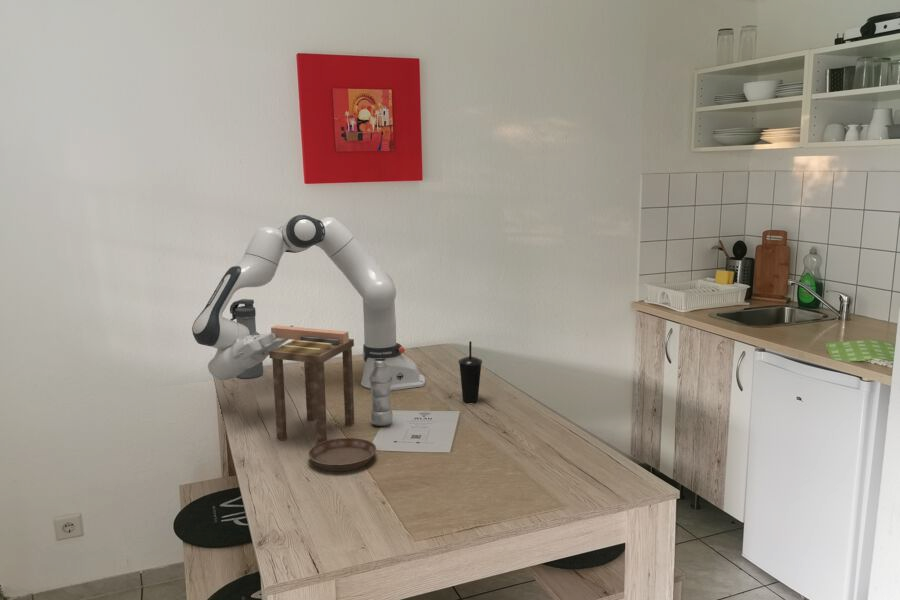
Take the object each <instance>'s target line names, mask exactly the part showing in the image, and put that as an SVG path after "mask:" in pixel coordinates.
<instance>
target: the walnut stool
mask: <svg viewBox="0 0 900 600" xmlns="http://www.w3.org/2000/svg"><path fill="white" fill-rule="evenodd" d="M348 336H349V334H348ZM349 337H350V336H349ZM300 339H301V340H290V341H289V342H286V343H283V344H282V345H280V346H279V347H278V348H275V349H273V350H271V351H269V355H268V357H269V359H271V360H272V361H271V362H272V378H273V379H272V380H273V393H274V395H273V396H274V409H275V426H276V427H275V428H276V440H277V439H278V440H277V441H282V440H283V441H285V440H286V439H288V432H287V431H288V430H287V429H288V427H287V416H286V415H287V412H286V396H285V379H284V378H285V377H284V361H293V362H302V363H303V364H304V382H305V383H304V385H305V386H304V388H305V402H306V403H305V406H306V409H305V410H306V421H311V422H313V421H315V423H316V425H315V426H316V445H317V444H319V443H321V442H324V441H328V430H327V429H328V428H327V427H328V426H327V424H328V423H327V404H326V384H325V383H326V379H325V362H326V361H328V360H331V359H332V358H334V357H336V356H338V355H340V354H341V353H342V354H341V355H342V369H343V370H342V376H343V380H342V381H343V402H344V405H343V406H344V426H348V427H353V424H354V425H355V406H354V403H355V402H354V401H355V400H354V377H353V376H354V374H353V351H352V349H353V347H354V346H355V341H354V338H349V342H347V343H345V344H339V340H337V339H327V338H316V337H305V336H302V337H300ZM284 439H285V440H284Z"/></svg>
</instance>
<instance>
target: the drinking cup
mask: <svg viewBox="0 0 900 600" xmlns="http://www.w3.org/2000/svg"><path fill="white" fill-rule="evenodd" d="M468 346H469V349H468V351H469V356H465V357H462V358H459V359H458V364H459V372H460V373H459V375H460V383H461V394H462V402H463V403H464V402H465V404H468V403H473V404H477V403H478V402H477V401H479V392H480V391H479V390H480V380H481V370H482V363H483V360H482V359H481V358H478V357H475V356H472V341H469V345H468ZM476 402H477V403H476Z"/></svg>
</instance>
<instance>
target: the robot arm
mask: <svg viewBox="0 0 900 600" xmlns="http://www.w3.org/2000/svg"><path fill="white" fill-rule="evenodd" d="M313 246H315V247H318V248H319V249H321V250H323V252H324V253H325V254H326V256H327V257H328V258H329V259H330V260H331V261H332V262H333V264H334V265H335V266H336V267H337V268H338V269H339V270H340V272H341V273H342V274H343V275H344V276H345V277H346V279H347V280H348V281H349V283H350V284H351V285H352V287H353V288H354V289H355V290H356V292H357V293H358V294H359V295H360V297H361V298H362V309H363V310H362V311H363V336H364V339H363V341H364V344H363V345H362V346H363V347H362V355H363V362H364V363H363V373H362V377H361V378H362V379H361V382H360V385H361V386H363V387H364V388H366V389H371V387H370V381H369V375H370V373H371V371H372V370H373V369H374V366H373V364H374V359H377V358H384V359H386V364H387V366H386V368H387V370H388V371H389V372H390V374H391V386H390V392H391V391H399V390H405V389H413V388H420V387H421V388H422V387H423V386H425V385H426V378H425V376H424V375H423V374H421V373H420V372H419V368H418V365H417V363H416V362H415V361H414V360H412V359H411V358H409V357H408V356H407V355H405V354H404V353H405V347H404V346H403V345H401V344H400V343H399V342H397V321H396V320H397V319H396V318H397V317H396V306H395V305H396V304H395V300H396V297H397V289H396V286H395V283H394V281H393V278H392V277H391V276H390V274H388V273H387V272H385V271H384V270H383V269H382V267H380V266H379V265H378V263H377V261H376V260H375V259H374V258H373V257H372V256H371V254H370V253H369V252H368V250H367V249H366V248H365V247H364V246H363V244H362V243H361V242H360V241H359V240H358V239H357V237H355V235H354V234H353V233H352V232H351V231H350V230H349V229H348V228H347V227H346V226H345V225H344V224H343V223H342V222H341V221H339V220H338V219H336V218H335V217H333V216H327V217H324V218H322V219H317V218H314V217H311V216H309V215H306V214H297V215H295V216H293V217H291V218H289V219H287V220H286V221H285V223H283V224H282V226H280V227H279V228H275V227H273V226H272V227H271V226H261V227H259V228H258V229H257V230H256V231H255V232H254V234H253V236H252V238H251V239H250V240H249V243H248V245H247V247H246V250H245V251H244V254H243V256H242V258H241V259H240V261H239V263H237V265H235V266H231V267H230V268H228V269H227V270H226V272H225V274H223V276H222V277H221V279H220V281H219V282H218V285H217V286H216V288H215V290H214V291H213V293H212V294H211V296H210V298H209V300H208V301H207V303H206V305H205V307H204V308H203V310H202V311H201V312H200V313H199V315H198V316H197V317H196V318H195V320H194V322H193V323H192V328H191V331H192V335H193V338H194V340H195V341H196V343H197V344H199V345H202V346H206V347H212V348H214V349H217V350H216V353H215V355H214V357H212V358H211V360H209V362H208V364H207V368H208V369H207V370H208V372H209V373H210V375H211V376H213V378H215V379H217V380H219V381H227V380H228V381H229V380H231V379H233V378H237V376H238V375H240V374H241V373H243V372H244V371H245V370H246V369H249V368H252V367H254V366H255V365H257V364H259V363H261V362H262V361H263V362H264V361H265V359H267V358H268V357H269V351H271V350H273V349H275V348H278V347H280V346H281V345H284V344H286V343H287V341H289V340H290V339H281V338H278V336H277V335H276V333H272V334H271V332H267V333H266V332H265V333H261V334H260V335H254V336H252V335H251V334H250V331H249V329H248V327H247V326H245V325H242V324H240V323H238V322H237V321H235V320H233V321H232V320H230V319H229V318H226V317H224V316H223V313H224V312H225V310H226V308H227V307H228V304H229V303H230V301H231V299H232V298H233V296H234V294H235V293H236V292H237V291H238V290H240V289H244V288H259V287H263V286H266V285H267V284H269V283H270V282H271V281H272V280H273V279H274V277H275V275H276V272H277V270H278V267H279V263H280V261H281V259H282V256H283V255H284V254H285V253H293V254H294V253H295V254H296V253H297V254H298V253H301V252H304V251H307V250H308V249H310V248H311V247H313ZM289 327H295V326H294V325H289Z"/></svg>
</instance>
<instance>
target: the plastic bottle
mask: <svg viewBox="0 0 900 600" xmlns="http://www.w3.org/2000/svg"><path fill="white" fill-rule="evenodd" d="M373 366H374V369H373V370H372V371H371V373H370V375H369V381H370V387H371V388H370V393H371V410H370V422H371V423H372V425H374V426H377V427H378V426H379V427H385V426H388V425H391V423H392V422H393V419H394V418H393V417H394V413H393V410H392V405H391V403H392V402H391V391H390V386H391V374H390V372H389V371H388V370H387V368H386V366H387V364H386V359H384V358H377V359H374V364H373Z"/></svg>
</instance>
